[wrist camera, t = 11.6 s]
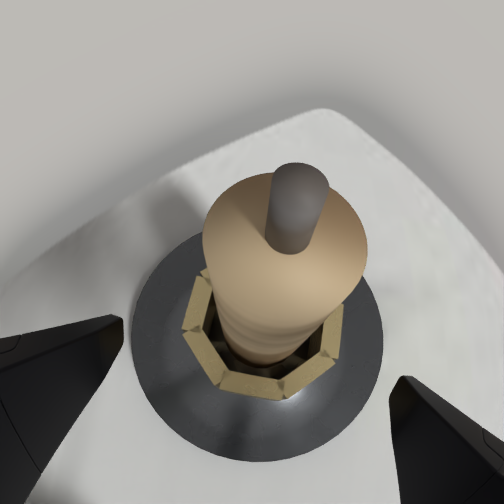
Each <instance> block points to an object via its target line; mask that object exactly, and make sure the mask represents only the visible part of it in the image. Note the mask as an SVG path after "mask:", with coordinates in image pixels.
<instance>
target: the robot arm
mask: <svg viewBox="0 0 504 504" xmlns="http://www.w3.org/2000/svg"><path fill="white" fill-rule="evenodd" d="M123 342H124V329H123V319H122V318H121V317H118V316H115V315H113V314H109V315H105V316H101V317H97V318H92V319H88V320H84V321H79V322H75V323H71V324H66V325H62V326H57V327H53V328H48V329H44V330H39V331H35V332H30V333H25V334H22V336H21V335H16V336H11V337H6V338H0V504H24V503H25V501H26V499H27V498H28V496H29V494H30V492H31V491H32V489H33V487H34V486H35V484H36V483H37V481H38V479H39V478H40V476H41V473H42V472H43V471H44V469H45V468H46V466H47V464H48V463H49V461H50V460H51V458H52V456H53V455H54V453H55V452H56V450H57V449H58V447H59V446H60V444H61V442H62V441H63V439H64V438H65V436H66V435H67V433H68V432H69V430H70V429H71V427H72V426H73V424H74V423H75V421H76V420H77V418H78V417H79V415H80V414H81V412H82V411H83V409H84V408H85V406H86V405H87V404H88V402H89V401H90V399H91V398H92V396H93V395H94V393H95V392H96V391H97V389H98V388H99V386H100V385H101V383H102V382H103V380H104V379H105V377H106V375H107V373H108V371H109V369H110V368H111V366H112V364H113V362H114V360H115V358H116V356H117V355H118V353H119V351H120V349H121V347H122V345H123ZM389 409H390V421H391V435H392V443H393V449H394V456H395V462H396V469H397V476H398V484H399V492H400V501H401V504H504V442H503V441H502V440H500V439H499V438H497V437H496V436H494V435H493V434H491V433H490V432H489V431H487V430H486V429H484V428H482V426H480V425H479V424H477V423H476V422H475V421H473V420H472V419H471V418H469V417H468V416H466V415H465V414H464V413H462V412H461V411H459V410H458V409H457V408H455V407H454V406H453V405H451V404H450V403H448V402H447V401H446V400H444V399H443V398H442V397H440V396H439V395H438V394H436V393H435V392H433V391H432V390H431V389H429V388H428V387H427V386H425V385H424V384H422V383H421V382H420V381H418V380H417V379H416V378H414V377H413V376H404V375H403V376H401V377H400V378H399V379H398V381H397V383H396V385H395V386H394V388H393V390H392V392H391V394H390V396H389Z"/></svg>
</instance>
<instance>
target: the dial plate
mask: <svg viewBox="0 0 504 504" xmlns="http://www.w3.org/2000/svg"><path fill="white" fill-rule="evenodd" d="M202 238H203V232H201V233H199V234H197V235H195V236H193V237H191V238H190V239H188V240H187V241H185V242H183V243H182V244H181V245H179V246H178V247H177V248H175V249H174V250H173V251H172V252H171V253H170V254H169V255H168V256H167V257H166V258H165V259H164V260H163V261H162V262H161V263H160V264H159V265H158V266H157V268H156V269H155V270H154V272H153V273H152V274H151V276H150V278H149V279H148V281H147V283H146V284H145V286H144V288H143V290H142V293H141V295H140V297H139V300H138V302H137V306H136V310H135V314H134V317H133V325H132V334H131V335H132V354H133V361H134V366H135V370H136V373H137V376H138V379H139V382H140V385H141V387H142V389H143V391H144V393H145V395H146V397H147V399H148V401H149V402H150V404H151V405H152V406H153V408H154V409H155V411H156V412H157V414H158V415H159V416H160V417H161V418H162V419H163V420H164V421H165V423H166V424H167V425H168V426H169V427H170V428H172V429H173V430H174V431H175V432H176V433H178V434H179V435H180V436H181V437H183V438H184V439H185V440H187V441H189V442H190V443H192V444H194V445H195V446H197V447H199V448H201V449H203V450H206V451H208V452H210V453H213V454H215V455H218V456H222V457H226V458H229V459H233V460H240V461H249V462H269V461H277V460H283V459H288V458H292V457H295V456H298V455H302V454H305V453H307V452H310V451H312V450H314V449H316V448H318V447H320V446H322V445H324V444H325V443H327V442H328V441H330V440H331V439H333V438H334V437H335V436H337V435H338V434H339V433H340V432H342V431H343V430H344V429H345V428H346V427H347V426H348V425H349V424H350V423H351V422H352V421H353V420H354V419H355V417H356V416H357V415H358V414H359V413H360V411H361V410H362V408H363V407H364V405H365V404H366V402H367V400H368V399H369V397H370V395H371V393H372V391H373V388H374V386H375V384H376V381H377V378H378V375H379V371H380V367H381V362H382V355H383V330H382V322H381V317H380V313H379V310H378V306H377V303H376V301H375V298H374V296H373V293H372V291H371V289H370V287H369V286H368V284H367V282H366V280H365V279H364V277H363V276H362V277H361V279H360V281H359V283H358V284H357V285H356V287H355V288H354V290H353V291H352V292H351V293H350V294H349V295H348V296H347V297H346V299H345V300H344V301H343V302H342V303H341V304H340V305H339V306H338V307H337V308H336V309H335V310H334V312H333V313H332V314H331V315H330V316H329V317H328V318H327V319H326V320H325V321H324V322H323V323H322V324H321V325H320V326H319V327H318V328H317V329H316V330H315V331H314V332H313V333H312V334H311V335H310V336H309V337H308V338H307V339H306V340H305V341H304V342H303V343H302V344H301V345H300V346H299V347H298V348H297V349H296V350H295V351H294V352H293V353H292V354H291V355H290V356H289V357H288V358H287V359H286V360H285V361H283V362H282V363H280V364H278V365H276V366H273V367H270V368H262V369H261V368H253V367H249V366H246V365H244V364H242V363H241V362H239V361H238V360H237V359H236V358H234V356H233V355H232V354H231V353H230V351H229V349H228V347H227V345H226V342H225V338H224V335H223V331H222V327H221V323H220V319H219V315H218V311H217V307H216V303H215V299H214V294H213V290H212V286H211V282H210V278H209V273H208V269H207V265H206V260H205V256H204V251H203V243H202Z"/></svg>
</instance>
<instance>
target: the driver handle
mask: <svg viewBox="0 0 504 504" xmlns="http://www.w3.org/2000/svg"><path fill="white" fill-rule="evenodd" d="M202 243H203V251H204V256H205V260H206V265H207V269H208V273H209V278H210V282H211V286H212V290H213V294H214V299H215V303H216V307H217V311H218V315H219V319H220V323H221V327H222V331H223V335H224V338H225V342H226V345H227V347H228V349H229V351H230V353H231V354H232V355H233V356H234V358H236V359H237V360H238V361H239V362H241V363H242V364H244V365H246V366H249V367H253V368H261V369H262V368H270V367H273V366H276V365H278V364H280V363H282V362H283V361H285V360H286V359H287V358H288V357H289V356H290V355H291V354H292V353H293V352H294V351H295V350H296V349H297V348H298V347H299V346H300V345H301V344H302V343H303V342H304V341H305V340H306V339H307V338H308V337H309V336H310V335H311V334H312V333H313V332H314V331H315V330H316V329H317V328H318V327H319V326H320V325H321V324H322V323H323V322H324V321H325V320H326V319H327V318H328V317H329V316H330V315H331V314H332V313H333V312H334V310H335V309H336V308H337V307H338V306H339V305H340V304H341V303H342V302H343V301H344V300H345V299H346V297H347V296H348V295H349V294H350V293H351V292H352V291H353V290H354V288H355V287H356V285H357V284H358V283H359V281H360V279H361V277H362V275H363V272H364V269H365V266H366V261H367V239H366V235H365V231H364V228H363V225H362V223H361V221H360V219H359V217H358V215H357V214H356V212H355V211H354V209H353V208H352V207H351V205H350V204H349V203H348V202H347V201H346V200H345V199H344V198H343V197H342V196H341V195H340V194H339V193H337V192H336V191H335V190H333V189H332V188H330V187H329V183H328V181H327V179H326V177H325V176H324V174H323V173H322V172H321V171H319V170H318V169H316V168H315V167H313V166H311V165H308V164H304V163H288V164H284V165H282V166H280V167H279V168H278V169H276V171H275V172H274V173H264V174H260V175H255V176H252V177H249V178H246V179H244V180H242V181H240V182H238V183H236V184H234V185H233V186H231V187H230V188H228V189H227V190H226V191H225V192H223V193H222V194H221V195H220V196H219V197H218V199H217V200H216V201H215V202H214V204H213V205H212V207H211V209H210V210H209V212H208V214H207V217H206V220H205V223H204V228H203V238H202Z"/></svg>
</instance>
